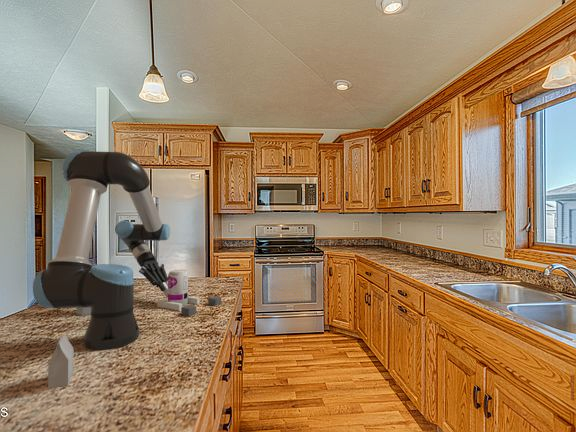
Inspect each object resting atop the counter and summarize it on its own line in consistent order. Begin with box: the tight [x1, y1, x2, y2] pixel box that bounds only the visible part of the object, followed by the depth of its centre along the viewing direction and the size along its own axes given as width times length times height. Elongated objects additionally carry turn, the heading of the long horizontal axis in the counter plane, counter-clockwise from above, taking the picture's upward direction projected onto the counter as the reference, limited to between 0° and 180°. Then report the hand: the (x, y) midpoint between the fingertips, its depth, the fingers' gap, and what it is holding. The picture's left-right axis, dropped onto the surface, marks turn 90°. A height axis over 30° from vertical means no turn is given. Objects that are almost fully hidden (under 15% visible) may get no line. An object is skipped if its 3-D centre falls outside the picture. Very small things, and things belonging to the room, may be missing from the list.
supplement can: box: [167, 269, 189, 307], centre depth 136 cm, size 8×8×15 cm
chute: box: [156, 295, 222, 317], centre depth 134 cm, size 20×22×3 cm
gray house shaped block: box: [47, 333, 75, 391], centre depth 73 cm, size 4×7×10 cm, turn 26°
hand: (169, 295), depth 139 cm, fingers closed
